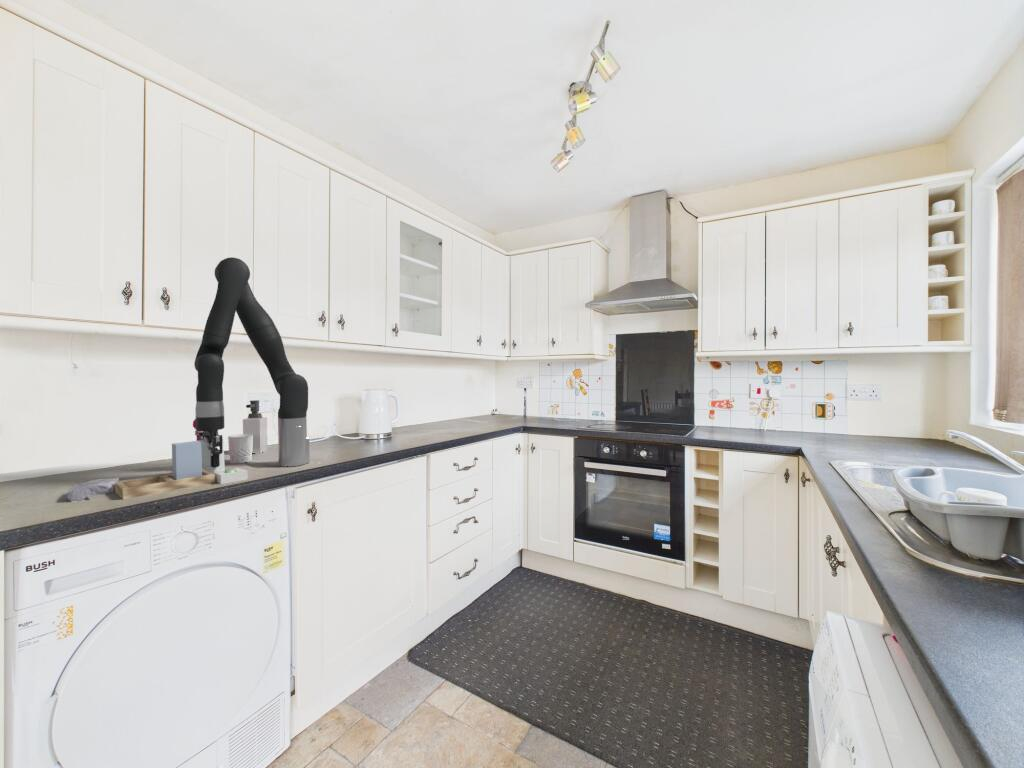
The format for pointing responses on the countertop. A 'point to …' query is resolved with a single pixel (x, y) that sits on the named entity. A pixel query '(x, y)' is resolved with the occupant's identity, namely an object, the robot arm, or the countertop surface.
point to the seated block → (186, 460)
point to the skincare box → (207, 458)
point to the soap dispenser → (256, 427)
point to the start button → (229, 470)
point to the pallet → (160, 484)
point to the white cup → (240, 448)
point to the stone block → (91, 489)
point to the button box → (230, 476)
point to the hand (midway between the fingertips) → (211, 465)
